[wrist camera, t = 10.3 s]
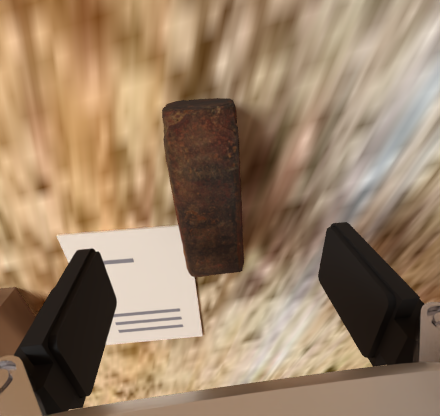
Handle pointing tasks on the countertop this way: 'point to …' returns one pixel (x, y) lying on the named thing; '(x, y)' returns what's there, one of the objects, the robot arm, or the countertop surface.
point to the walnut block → (13, 320)
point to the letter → (144, 282)
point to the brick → (206, 183)
